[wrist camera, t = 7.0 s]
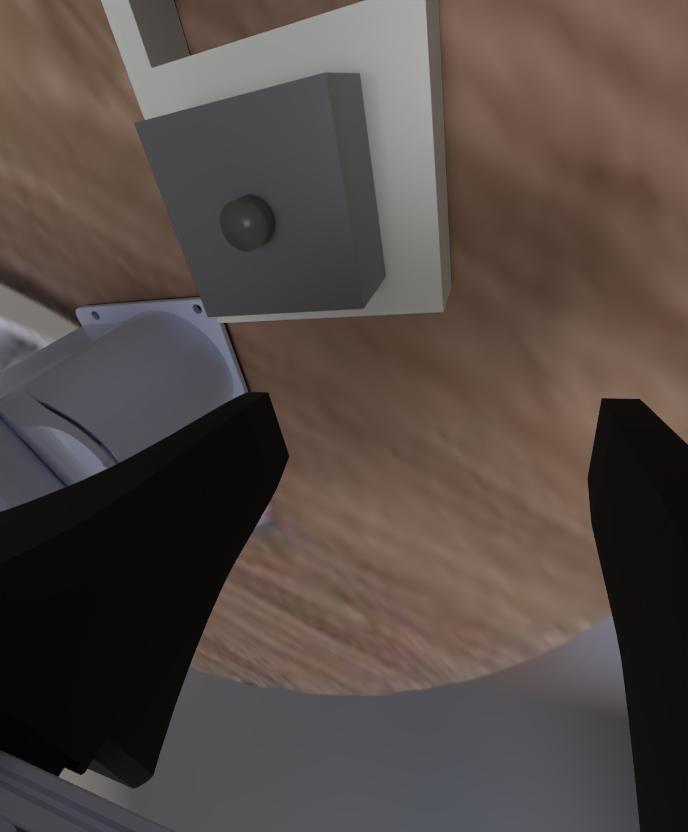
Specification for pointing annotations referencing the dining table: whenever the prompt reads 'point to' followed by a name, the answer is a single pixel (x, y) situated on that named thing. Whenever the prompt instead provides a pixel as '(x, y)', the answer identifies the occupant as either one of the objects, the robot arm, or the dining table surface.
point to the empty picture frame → (300, 158)
